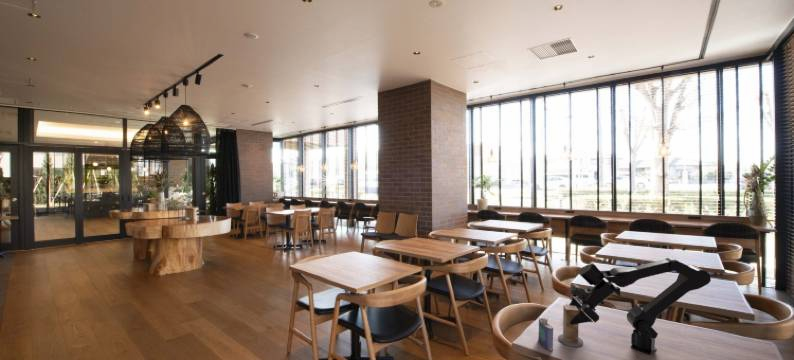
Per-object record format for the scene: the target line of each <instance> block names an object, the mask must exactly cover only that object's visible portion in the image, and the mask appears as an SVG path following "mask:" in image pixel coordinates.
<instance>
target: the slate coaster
mask: <svg viewBox="0 0 794 360" xmlns="http://www.w3.org/2000/svg"><path fill="white" fill-rule="evenodd" d="M557 340H558V342H560V343H561V344H563V345H564V346H568V347H571V348H572V347H573V348H579V347H582V346H583V345H584V341H583V339H582V338H580V337H579V336H578V343H573V342H566V341H565V339H564V337H563V333H562V334H559V335H558V337H557Z"/></svg>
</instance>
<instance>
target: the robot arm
mask: <svg viewBox="0 0 794 360" xmlns="http://www.w3.org/2000/svg"><path fill="white" fill-rule="evenodd" d="M670 272H676V273H678V275H677V278H676V281H674V282H673V283H672V284H670V285H669V286H668V287H666V288H665V289H664V290H663V291H661V292H660V293H659V294H658V295H657V296H656V297H654V298H653V299H651V300H650V301H649V302H648V303H647V304H645V305H641V306H640V305H639V304H638V303H637V304H634V305H633V307H631V308H630V309H628V310H627V311H628V312H627V314H626V320H627V322H628V323H629V324H630V325H631V326H632V328H633V330H632V333H631V335H630V337H631V338H630V339H631V340H630V342H631V343H630V344H631V345H630V348H632V349H634V350H636V351H640V352H642V353H644V354H647V355H651V354H653V353H654V352H656V351H657V347H655V345H656V344H655V343H656V339H657V337H658V335H659V333H658V332H657V331H656V330H655V329H654V328H653V326H654V324H655V323H656V320H657V318H658V316H659V315H660V314H662V313H664V312H665V311H666V310H667V309H668V308H669V307H671V306H672V305H674V304H675V303H676V302H678V300H680V299H681V298H682V297H684V296H685V295H686V294H687V293H689V292H691V291H696V290H699V289H701V288H703V287H705V286H707V285H709V284H710V283H711V281H712V279H711V278H712V277H711V275H710V273H709V272H708V271H707V270H705V269H702V268H701V267H698V266H697V265H695V264H693V265H692V264H691V265H690V264H688V265H687V264H685V263H683V262H681V261H679V260H677V259H676V258H673V257H666V258H664V259H660V260H656V261H653V262H648V263H644V264H640V265H636V266H632V267H628V266H627V267H626V266H625V267H624V266H621V267H620V266H619V267H613V268H611V269H609V270H600V269H599V268H598V267H597V266H596V264H594V263H593V262H591V263H590V264H587V265H584V266H582V267H581V268H580V269H579V271H578V274H579V275H580V277H581V278H582V279H583V280H584V281H586V282H587V284H588V285H590V286H593V287H591V288H590V287H587V288H583V287H582V286H580V285H577V284H576V283H574V282H572V283H571V285H570V287H569V289H568V291H569V292H570V302H569V303H570V304H569V305H572V306H576V307H577V309H578V310H579V313H578V314H577V315H576V316H575V317H574V318H573V319H572V320H571V321H570V324H571V325H574V324H578V325H580V324H584V323H586V324H587V323H597V322H598V321H599V320H600V316H599V314H598V313H597V312H596V310H597V308H596V307H598V306H599V305H604V304H605V300H607V299H608V298H610V296H612V295H613V294H614V293H615V294H616V295H617V296H618V297H620V296H621V288H626V287H628V286H631V285H633V284H635V283H636V282H637V281H639V280H641V279H645V278H649V277H654V276H657V275H661V274H666V273H670ZM605 279H606V280H607V281H606V280H605ZM614 284H615V285H614Z"/></svg>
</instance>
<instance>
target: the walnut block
mask: <svg viewBox="0 0 794 360" xmlns="http://www.w3.org/2000/svg"><path fill="white" fill-rule="evenodd" d="M562 307H563V314H562V316H563V319H562V320H563V323H562V325H563V326H562V330H563V331H562V334H563V337H564V339H565V341H566V342H573V343H578V337H579V324H574V325H571V324H570V321H571V320H572V319H573V318H574V317H575V316H576V315H577V314H578V313H579V310H578V309H577V307H576V306H572V305H565V304H563V306H562Z"/></svg>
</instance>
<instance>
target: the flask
mask: <svg viewBox="0 0 794 360" xmlns="http://www.w3.org/2000/svg"><path fill="white" fill-rule="evenodd" d="M548 321H549V318H545V317H540V318H539V319H538V343H539V344H540V346H542V347H543V348H544V350H546V351H548V352H553V351H554V327H553V325H550V324H549V322H548Z"/></svg>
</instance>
